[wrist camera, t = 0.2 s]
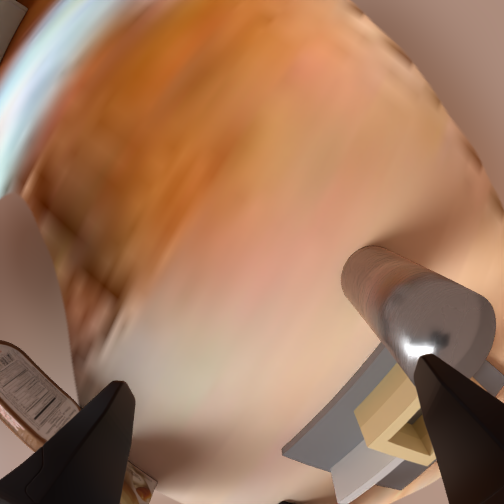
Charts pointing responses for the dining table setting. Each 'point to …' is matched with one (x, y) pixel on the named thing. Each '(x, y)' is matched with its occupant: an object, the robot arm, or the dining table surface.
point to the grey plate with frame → (374, 429)
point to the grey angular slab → (9, 21)
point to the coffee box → (136, 486)
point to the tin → (31, 399)
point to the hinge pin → (419, 311)
